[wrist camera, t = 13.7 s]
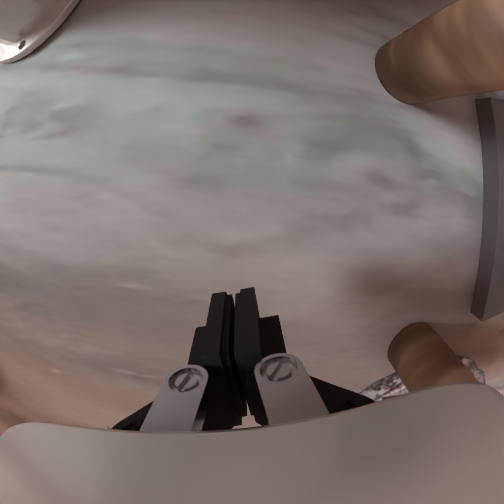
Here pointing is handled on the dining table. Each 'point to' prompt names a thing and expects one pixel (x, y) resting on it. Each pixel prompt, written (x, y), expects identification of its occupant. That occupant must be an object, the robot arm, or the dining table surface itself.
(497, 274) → the power strip
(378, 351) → the dining table surface
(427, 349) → the post outer
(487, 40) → the post inner
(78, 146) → the dining table surface
